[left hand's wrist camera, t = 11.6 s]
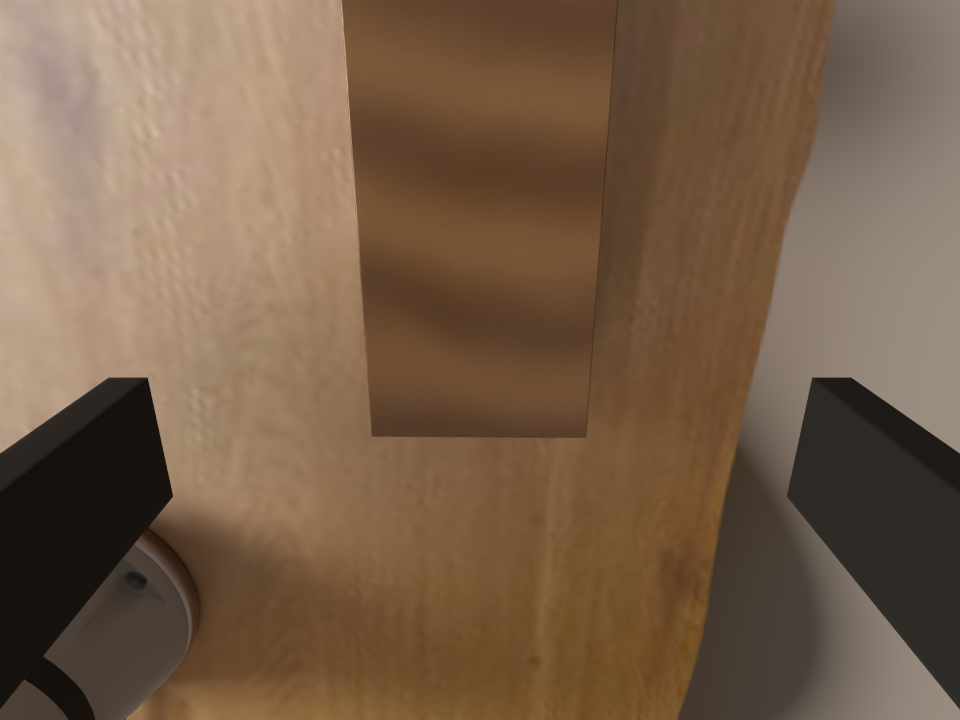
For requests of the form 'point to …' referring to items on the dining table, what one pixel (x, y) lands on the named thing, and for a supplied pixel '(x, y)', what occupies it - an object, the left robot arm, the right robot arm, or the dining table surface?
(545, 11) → the wooden beam
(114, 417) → the left robot arm
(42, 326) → the dining table surface
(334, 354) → the dining table surface
